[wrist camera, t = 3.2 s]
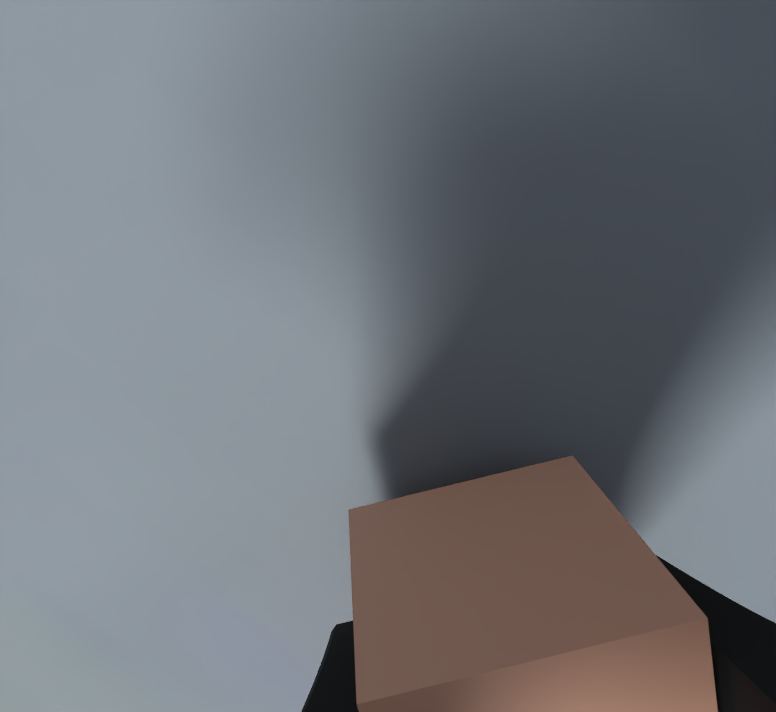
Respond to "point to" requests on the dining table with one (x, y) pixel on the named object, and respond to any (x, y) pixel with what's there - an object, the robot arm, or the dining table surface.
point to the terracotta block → (520, 603)
